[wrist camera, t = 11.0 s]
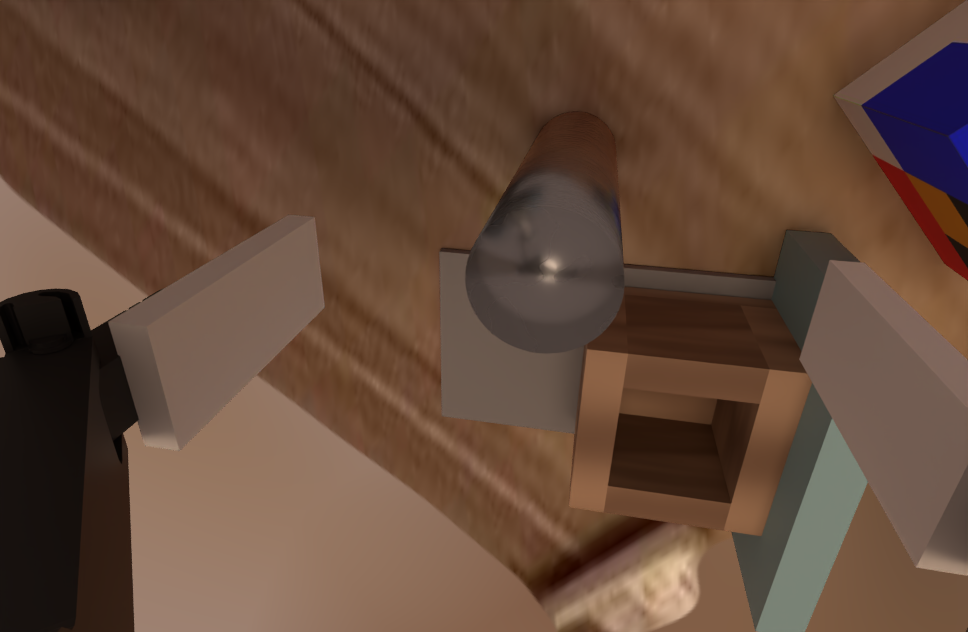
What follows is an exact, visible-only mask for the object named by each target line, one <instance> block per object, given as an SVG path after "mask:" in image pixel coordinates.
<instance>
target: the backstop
mask: <svg viewBox="0 0 968 632" xmlns="http://www.w3.org/2000/svg"><path fill="white" fill-rule="evenodd" d="M470 252H471V251H466V250H455V249H443V248H442V249H441V250H440V251H439V255H440V324H441V392H442V416H445V417H453V418H460V419H468V420H475V421H483V422H490V423H498V424H505V425H513V426H520V427H528V428H535V429H543V430H551V431H558V432H566V433H573V434H575V421H576V412H577V404H578V395H579V386H580V377H581V369H582V360H583V351H584V346H581V347H579V348H577V349H573V350H570V351H567V352H561V353H550V354H545V353H534V352H529V351H525V350H521V349H518V348H516V347H513V346H511V345H509V344H507V343H505V342H503V341H502V340H500V339H499V338H497V337H496V336H495V335H493V334H492V333H491V332H490V331H489V330H488V329H487V328H486V327H485V326H484V325H483V324H482V323H481V321H480V320H479V319H478V317H477V316H476V314H475V312H474V310H473V308H472V306H471V304H470V301H469V299H468V296H467V291H466V284H465V272H466V265H467V260H468V257H469V254H470ZM830 260H836V261H848V262H860V261H859V260H858V259H857V258H856V257H855V256H854V255H853V254H852V253H851V252H850V251H848V250H847V249H846V248H845V247H844V246H843V245H842V244H841V243H840V242H839V241H838V240H837V239H836V238H835V237H834V236H833V235H832V234H831V233H819V232H806V231H793V230H786V234H785V238H784V241H783V245H782V249H781V253H780V256H779V260H778V264H777V268H776V271H775V275H774V277H764V276H752V275H741V274H729V273H718V272H706V271H695V270H684V269H672V268H661V267H649V266H638V265H626V264H624V279H625V286H624V287H635V288H645V289H656V290H667V291H678V292H688V293H699V294H710V295H721V296H731V297H742V298H753V299H764V300H772V301H773V303H774V305H775V306H776V308H777V310H778V312H779V313H780V315H781V317H782V319H783V320H784V322H785V324H786V325H787V327H788V329H789V331H790V332H791V334H792V336H793V338H794V339H795V341H796V343H797V344H798V346H799V348H800V350H801V351H802V349H803V346H804V343H805V339H806V336H807V333H808V330H809V326H810V323H811V320H812V316H813V313H814V310H815V307H816V303H817V300H818V297H819V294H820V290H821V287H822V284H823V281H824V277H825V274H826V271H827V267H828V264H829V261H830ZM860 263H861V262H860ZM867 483H868V481H867V479H866V477H865V476H864V474H863V472H862V470H861V468H860V467H859V465H858V463H857V461H856V460H855V458H854V456H853V454H852V452H851V451H850V449H849V447H848V445H847V443H846V442H845V440H844V438H843V436H842V435H841V433H840V431H839V429H838V427H837V426H836V424H835V422H834V420H833V419H832V417H831V415H830V413H829V411H828V410H827V408H826V406H825V404H824V403H823V401H822V399H821V397H820V395H819V394H818V392H817V390H816V388H815V387H814V385H813V383H812V384H811V388H810V391H809V394H808V397H807V400H806V403H805V406H804V409H803V412H802V415H801V418H800V421H799V424H798V427H797V430H796V433H795V436H794V439H793V442H792V445H791V448H790V451H789V454H788V457H787V460H786V463H785V466H784V469H783V472H782V475H781V479H780V482H779V485H778V488H777V491H776V494H775V497H774V500H773V503H772V506H771V509H770V512H769V515H768V518H767V521H766V524H765V527H764V530H763V533H762V536H757V535H750V534H743V533H737V532H732V536H733V540H734V544H735V548H736V552H737V557H738V561H739V565H740V569H741V573H742V577H743V581H744V586H745V590H746V594H747V598H748V602H749V607H750V611H751V615H752V619H753V623H754V627H755V631H758V632H805V630H806V628H807V625H808V623H809V621H810V618H811V616H812V614H813V611H814V609H815V606H816V604H817V602H818V599H819V597H820V594H821V592H822V590H823V587H824V585H825V583H826V580H827V578H828V575H829V573H830V571H831V568H832V566H833V564H834V561H835V559H836V556H837V554H838V552H839V549H840V547H841V545H842V542H843V540H844V537H845V535H846V532H847V530H848V528H849V525H850V523H851V521H852V518H853V516H854V513H855V511H856V509H857V506H858V504H859V502H860V499H861V497H862V494H863V492H864V490H865V487H866V485H867Z"/></svg>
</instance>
